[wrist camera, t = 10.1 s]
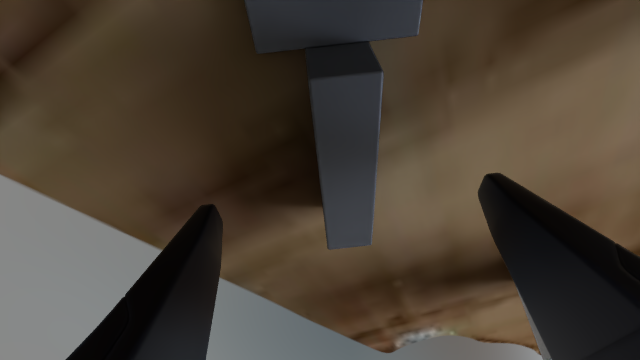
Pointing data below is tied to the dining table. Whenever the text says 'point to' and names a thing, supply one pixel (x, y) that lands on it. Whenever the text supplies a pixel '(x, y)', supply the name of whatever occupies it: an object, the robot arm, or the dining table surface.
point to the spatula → (339, 93)
